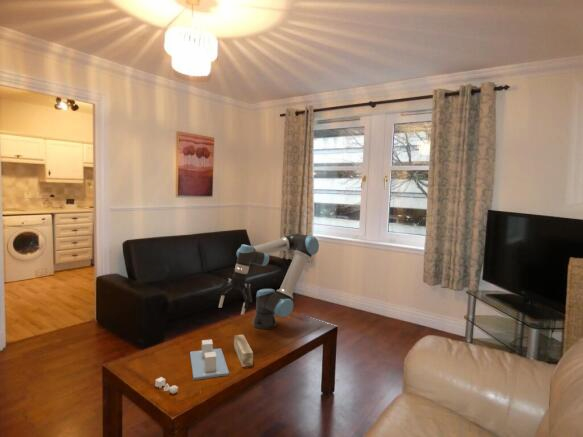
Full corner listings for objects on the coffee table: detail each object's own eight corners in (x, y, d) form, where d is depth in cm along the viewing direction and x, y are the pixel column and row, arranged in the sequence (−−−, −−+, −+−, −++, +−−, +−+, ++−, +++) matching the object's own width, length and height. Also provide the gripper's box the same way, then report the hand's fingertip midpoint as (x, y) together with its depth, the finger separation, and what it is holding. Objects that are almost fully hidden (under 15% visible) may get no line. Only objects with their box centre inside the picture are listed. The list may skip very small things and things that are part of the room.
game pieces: (154, 386, 150) (154, 379, 150) (161, 383, 153) (161, 376, 153) (172, 396, 144) (173, 388, 144) (179, 392, 147) (179, 385, 146)
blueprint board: (220, 350, 186) (221, 335, 185) (228, 375, 161) (229, 358, 161) (190, 353, 180) (190, 338, 180) (193, 380, 156) (193, 362, 155)
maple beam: (242, 346, 192) (243, 334, 191) (252, 366, 171) (253, 352, 171) (233, 347, 190) (234, 335, 190) (242, 367, 170) (243, 353, 169)
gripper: (217, 266, 191) (207, 305, 188) (259, 278, 184) (249, 317, 181) (223, 267, 198) (214, 304, 195) (263, 278, 191) (254, 316, 189)
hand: (231, 310), depth 188 cm, fingers open, 13 cm apart
